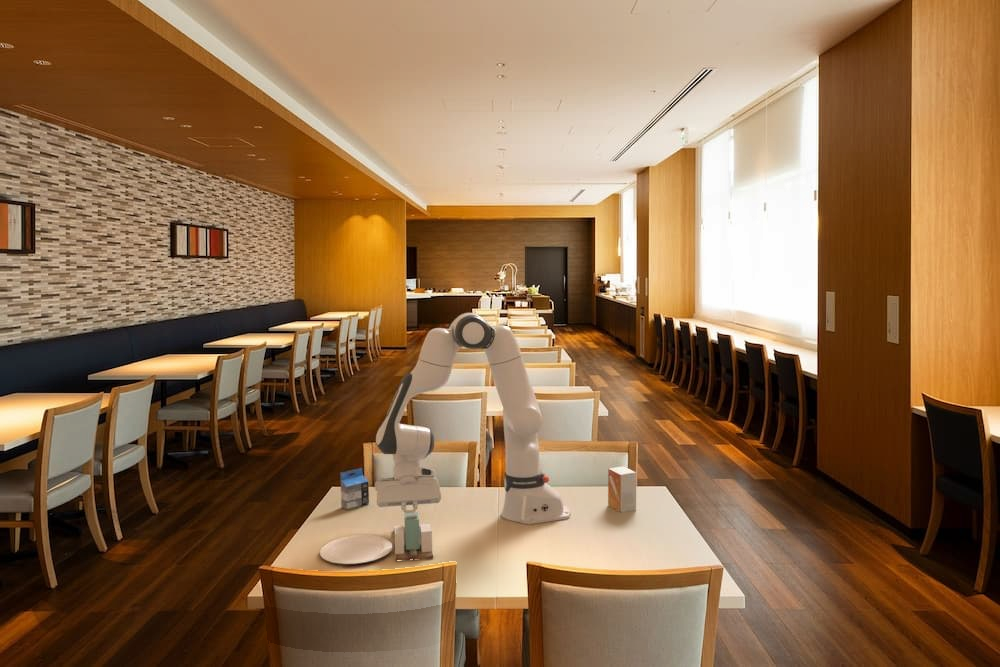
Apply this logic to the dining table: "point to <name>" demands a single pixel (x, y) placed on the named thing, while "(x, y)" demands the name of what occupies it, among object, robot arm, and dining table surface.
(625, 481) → the small box
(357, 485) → the label tape cartridge
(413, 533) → the block
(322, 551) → the plate
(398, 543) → the mounted modules
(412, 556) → the rail board
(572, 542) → the dining table surface
